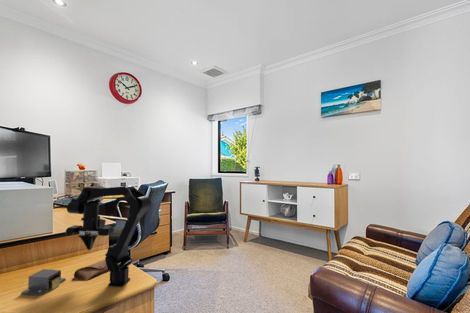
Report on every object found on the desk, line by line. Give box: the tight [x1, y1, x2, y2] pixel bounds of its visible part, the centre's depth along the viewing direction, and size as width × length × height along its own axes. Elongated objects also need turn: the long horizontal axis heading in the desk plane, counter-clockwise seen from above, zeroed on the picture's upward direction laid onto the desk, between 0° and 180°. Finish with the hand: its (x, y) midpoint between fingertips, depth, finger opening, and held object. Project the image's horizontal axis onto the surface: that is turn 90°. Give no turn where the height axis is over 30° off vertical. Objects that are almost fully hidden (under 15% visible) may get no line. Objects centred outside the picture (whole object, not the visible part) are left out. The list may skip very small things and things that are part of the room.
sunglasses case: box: [73, 259, 109, 282], centre depth 112 cm, size 18×7×7 cm, turn 156°
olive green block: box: [48, 277, 61, 291], centre depth 97 cm, size 6×4×4 cm, turn 83°
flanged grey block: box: [20, 268, 66, 296], centre depth 97 cm, size 8×12×6 cm, turn 175°
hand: (89, 249), depth 106 cm, fingers closed
